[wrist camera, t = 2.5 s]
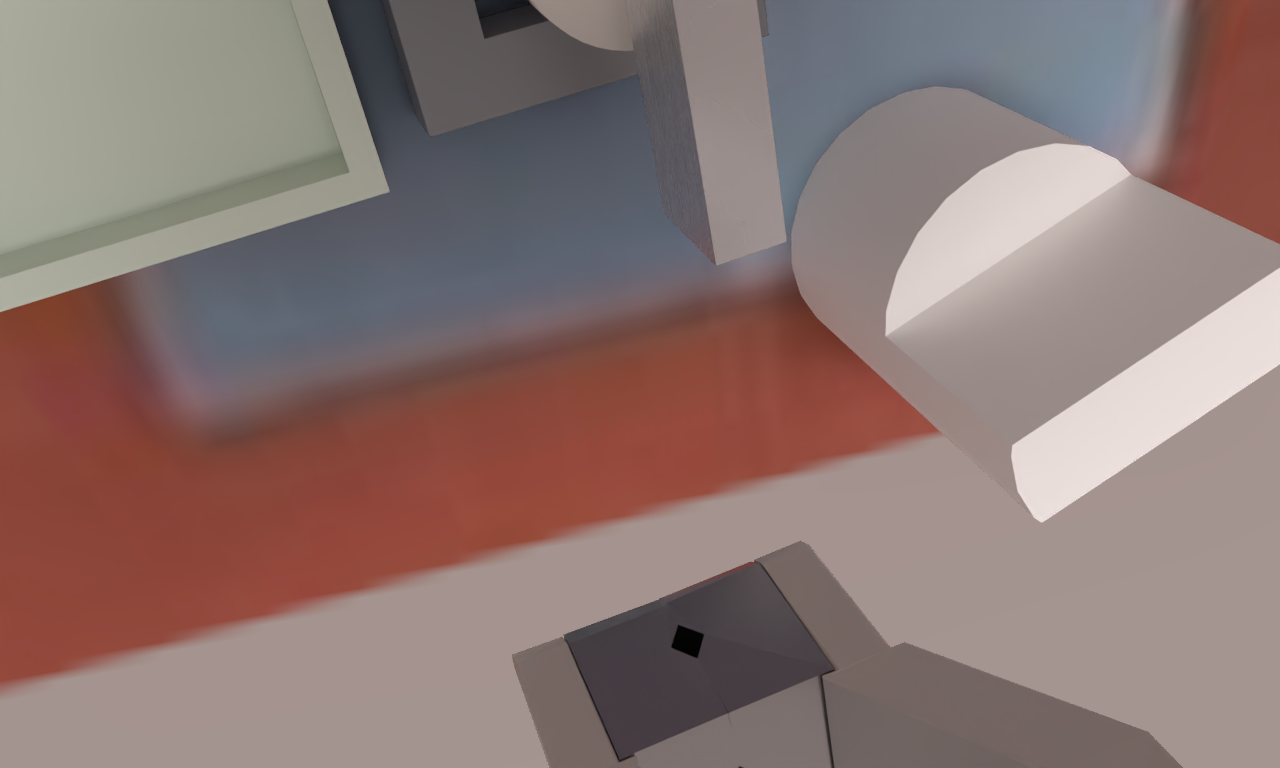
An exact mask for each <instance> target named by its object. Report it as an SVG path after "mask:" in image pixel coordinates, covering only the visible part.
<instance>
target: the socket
mask: <svg viewBox="0 0 1280 768" xmlns="http://www.w3.org/2000/svg"><path fill="white" fill-rule="evenodd" d="M381 1H382V5H383V8H384V11H385V14H386V18H387V21H388V24H389V28H390V31H391V34H392V38H393V41H394V44H395V48H396V51H397V54H398V58H399V61H400V64H401V67H402V71H403V74H404V77H405V81H406V84H407V87H408V91H409V94H410V97H411V101H412V104H413V107H414V111H415V114H416V116H417V118H418V119H419V121H420V123H421V124H422V126H423V127H424V129H425V130H426V132H427V134H428V135H429V137H433V136H436V135H439V134H442V133H446V132H449V131H452V130H456V129H459V128H462V127H466V126H469V125H472V124H476V123H479V122H482V121H486V120H489V119H492V118H496V117H499V116H502V115H506V114H509V113H512V112H516V111H519V110H522V109H525V108H529V107H532V106H535V105H539V104H542V103H545V102H549V101H552V100H555V99H559V98H562V97H565V96H569V95H572V94H575V93H579V92H582V91H585V90H589V89H592V88H595V87H599V86H602V85H605V84H609V83H612V82H615V81H618V80H622V79H625V78H628V77H632V76H635V75H638V70H637V64H636V59H635V54H634V50H632V51H617V50H608V49H603V48H598V47H595V46H592V45H589V44H586V43H583V42H581V41H579V40H577V39H576V38H574V37H572V36H570V35H568V34H567V33H566V32H564V31H563V30H561V29H560V28H559V27H557V26H556V25H555V24H553V23H552V22H551V21H549V20H548V19H547V18H546V17H544V16H543V15H542V14H541V13H540V12H539V11H538V10H537V9H536V8H535V7H534V6H533V5H532V4H529V5H526V6H522V7H519V8H515V9H512V10H508V11H505V12H501V13H498V14H494V15H491V16H487V17H483V18H480V19H479V17H478V13H477V9H476V5H475V1H474V0H381ZM757 6H758V14H759V22H760V30H761V37H765V36H768V35H769V32H768V24H767V15H766V7H765V0H757Z"/></svg>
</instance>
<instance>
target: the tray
mask: <svg viewBox="0 0 1280 768" xmlns="http://www.w3.org/2000/svg"><path fill="white" fill-rule="evenodd" d="M388 192H390V191H389V188H388V185H387V182H386V179H385V175H384V172H383V169H382V166H381V163H380V160H379V157H378V154H377V151H376V148H375V145H374V142H373V139H372V136H371V133H370V130H369V127H368V124H367V120H366V117H365V114H364V111H363V108H362V105H361V102H360V99H359V96H358V93H357V90H356V87H355V84H354V81H353V78H352V75H351V72H350V69H349V65H348V62H347V59H346V56H345V53H344V50H343V47H342V44H341V41H340V38H339V35H338V32H337V29H336V26H335V23H334V20H333V17H332V14H331V10H330V7H329V4H328V1H327V0H0V312H2V311H5V310H8V309H11V308H15V307H18V306H21V305H24V304H28V303H31V302H34V301H37V300H41V299H44V298H47V297H50V296H54V295H57V294H60V293H63V292H67V291H70V290H73V289H76V288H80V287H83V286H86V285H89V284H93V283H96V282H99V281H102V280H105V279H109V278H112V277H115V276H118V275H122V274H125V273H128V272H131V271H135V270H138V269H141V268H144V267H148V266H151V265H154V264H157V263H161V262H164V261H167V260H170V259H174V258H177V257H180V256H183V255H187V254H190V253H193V252H196V251H200V250H203V249H206V248H209V247H212V246H216V245H219V244H222V243H225V242H229V241H232V240H235V239H238V238H242V237H245V236H248V235H251V234H255V233H258V232H261V231H264V230H268V229H271V228H274V227H277V226H281V225H284V224H287V223H290V222H294V221H297V220H300V219H303V218H307V217H310V216H313V215H316V214H319V213H323V212H326V211H329V210H332V209H336V208H339V207H342V206H345V205H349V204H352V203H355V202H358V201H362V200H365V199H368V198H371V197H375V196H378V195H381V194H384V193H388Z"/></svg>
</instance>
